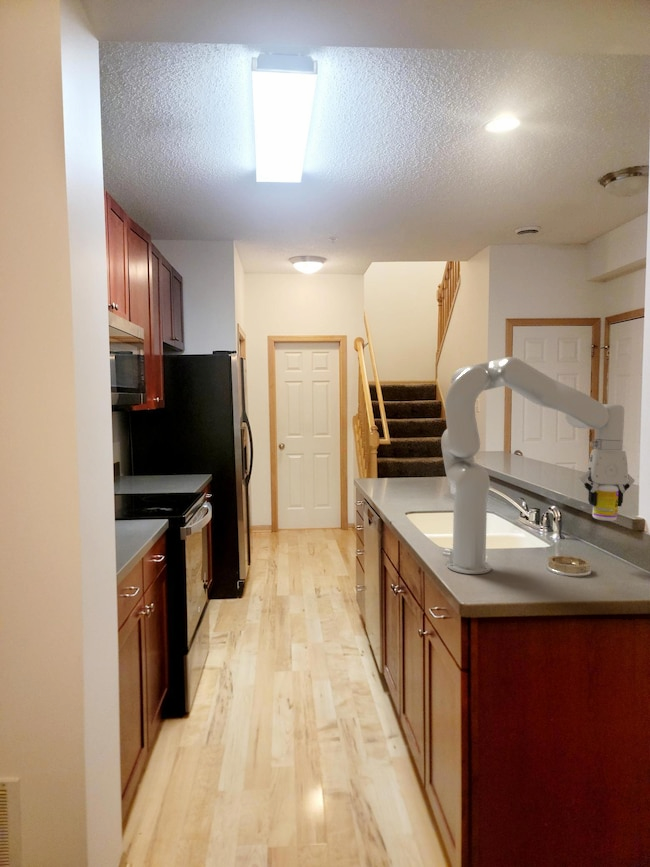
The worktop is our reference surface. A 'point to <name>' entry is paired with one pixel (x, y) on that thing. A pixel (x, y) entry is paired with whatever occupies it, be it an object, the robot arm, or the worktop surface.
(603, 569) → the worktop surface
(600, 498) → the supplement bottle
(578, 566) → the flange plate
